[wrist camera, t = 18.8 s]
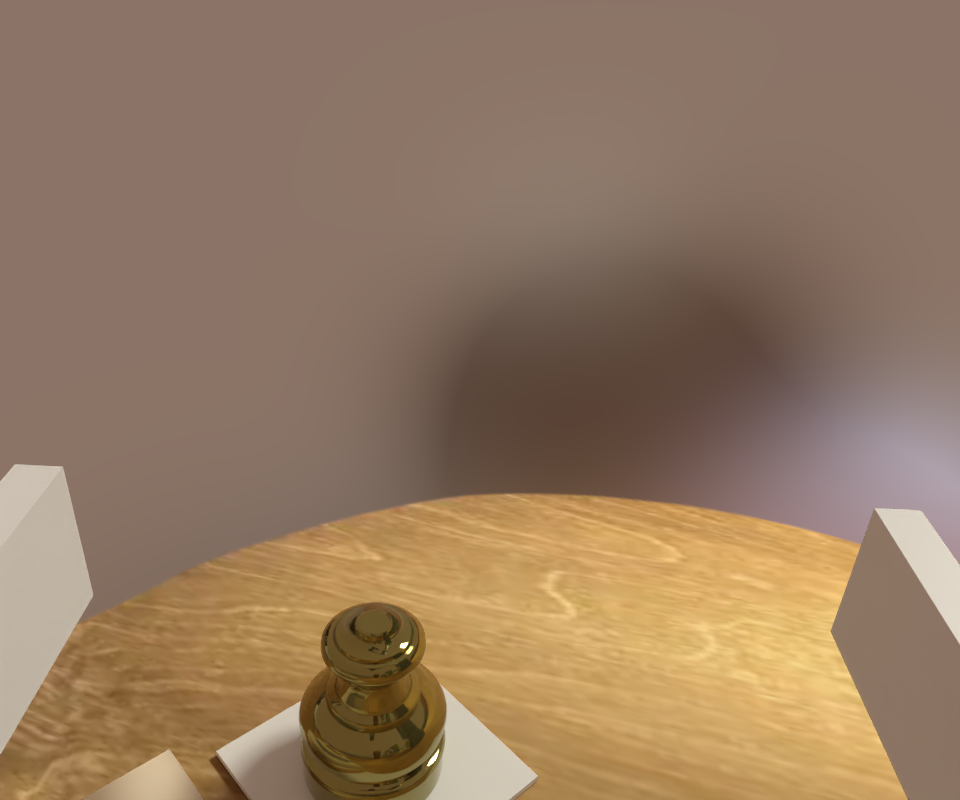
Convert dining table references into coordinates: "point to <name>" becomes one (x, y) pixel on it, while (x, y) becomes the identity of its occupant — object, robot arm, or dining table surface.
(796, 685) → the dining table surface
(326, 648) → the brass bell weight
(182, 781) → the light wooden flat frame
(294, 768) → the mat
